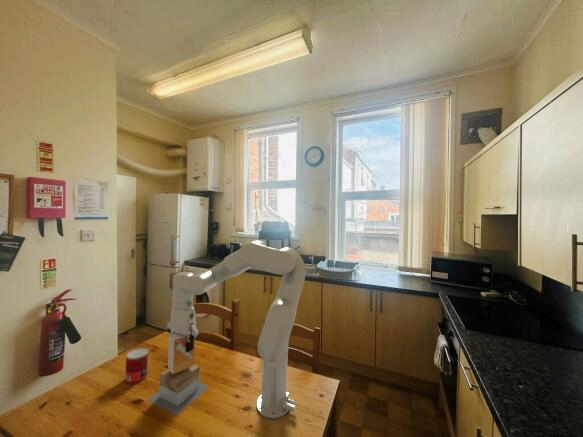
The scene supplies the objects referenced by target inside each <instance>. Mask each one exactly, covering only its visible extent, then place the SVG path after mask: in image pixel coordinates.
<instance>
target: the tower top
mask: <svg viewBox="0 0 583 437" xmlns="http://www.w3.org/2000/svg"><path fill="white" fill-rule="evenodd" d="M159 375H160V376H159V378H160V379H159V386H160V385H161V386H163V387H165V388H167V389H169V390H171V391H173V392H175V393H177V394H179V393H180V392H181V391H183V390H184V389H185V388H186V387H188V386H189V385H190V384H192V383H193V382H194V381H196V380H197V379H198V378H199V379H200V366H198V365H196V364H194V366H193V367H190V368H187V369H185V370H182V371H180V372H177V373H175V374H172V372H171V371H170V369H169V368H167V369H165V370H164V371H162V372H161V373H160V374H159Z"/></svg>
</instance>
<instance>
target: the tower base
mask: <svg viewBox="0 0 583 437" xmlns="http://www.w3.org/2000/svg"><path fill="white" fill-rule="evenodd" d="M199 382H200V377H199V378H198V379H197V380H196V381H194V382H193V383H192V384H190V385H189V386H188V387H186V388H185V389H184V390H183V391H181V392H180V393H179V394H177V393H175V392H173V391H171V390H169V389H167V388H165V387H163V386H161V385H160V384H159V391H160V397H161V398H163V399H165V400H167V401H169V402H170V403H172V404H174V405H176V406H178V405H180V404H181V403H182V402H183V401H185V400H186V399H187V398H188V397H189V396H191V395H192V394H193V393H194V392H196V391H197V390H198V389H199Z"/></svg>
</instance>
